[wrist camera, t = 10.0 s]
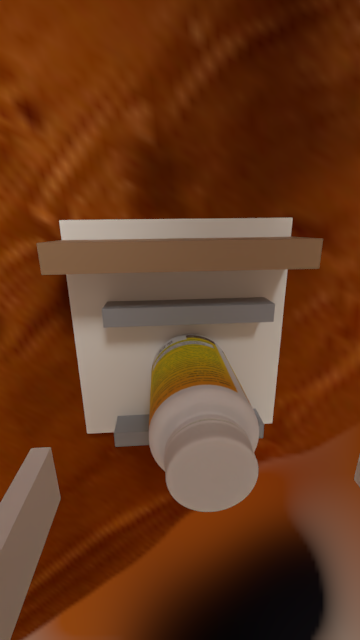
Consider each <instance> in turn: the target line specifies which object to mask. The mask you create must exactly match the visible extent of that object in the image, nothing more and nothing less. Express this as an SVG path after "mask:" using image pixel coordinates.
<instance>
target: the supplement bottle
mask: <svg viewBox="0 0 360 640" xmlns="http://www.w3.org/2000/svg"><path fill="white" fill-rule="evenodd" d="M258 439H259V425H258V420H257V417H256V415H255V412H254V410H253V408H252V406H251V404H250V402H249V400H248V398H247V396H246V394H245V392H244V390H243V388H242V386H241V384H240V383H239V381H238V379H237V377H236V375H235V373H234V371H233V369H232V367H231V365H230V364H229V362H228V360H227V358H226V356H225V354H224V352H223V351H222V349H221V348H220V347H219V346H218V345H217V344H216V343H215V342H214V341H212V340H211V339H209V338H207V337H205V336H202V335H197V334H184V335H180V336H177V337H174V338H172V339H170V340H169V341H167V342H166V343H165V344H164V345H163V346H162V347H161V348H160V349H159V350H158V352H157V353H156V355H155V358H154V360H153V364H152V371H151V391H150V415H149V446H150V450H151V453H152V455H153V457H154V459H155V461H156V462H157V464H158V465H159V466H160V467H161V468H162V469H163V470H164V471H165V476H166V484H167V487H168V490H169V492H170V494H171V495H172V497H173V498H174V499H175V500H176V501H177V502H178V503H179V504H181V505H183V506H184V507H186V508H189V509H192V510H195V511H200V512H215V511H221V510H224V509H227V508H230V507H232V506H234V505H236V504H237V503H239V502H241V501H242V500H243V499H245V498H246V497H247V496H248V495H249V494H250V492H251V491H252V489H253V488H254V486H255V484H256V482H257V478H258V463H257V459H256V457H255V454H254V451H255V449H256V447H257V443H258Z"/></svg>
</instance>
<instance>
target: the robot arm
mask: <svg viewBox="0 0 360 640" xmlns="http://www.w3.org/2000/svg"><path fill="white" fill-rule="evenodd" d="M354 480H355V481H356V483H357V484H358V485H359V487H360V455H359V459H358V464H357V468H356V472H355V476H354ZM60 499H61V497H60V491H59V486H58V481H57V476H56V471H55V466H54V461H53V455H52V450H51V447H43V448H31V449H30V451H29V453H28V455H27V457H26V458H25V460H24V462H23V464H22V465H21V467H20V469H19V471H18V472H17V474H16V476H15V478H14V479H13V481H12V483H11V485H10V487H9V488H8V490H7V492H6V494H5V495H4V497H3V499H2V501H1V502H0V640H10V639H11V636H12V634H13V631H14V628H15V625H16V622H17V620H18V617H19V614H20V611H21V608H22V606H23V603H24V600H25V597H26V594H27V592H28V589H29V586H30V583H31V580H32V578H33V575H34V572H35V569H36V566H37V564H38V561H39V558H40V555H41V552H42V550H43V547H44V544H45V541H46V538H47V536H48V533H49V530H50V527H51V525H52V522H53V519H54V516H55V513H56V511H57V508H58V505H59V502H60Z"/></svg>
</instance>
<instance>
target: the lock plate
mask: <svg viewBox="0 0 360 640" xmlns="http://www.w3.org/2000/svg"><path fill="white" fill-rule="evenodd" d="M292 220H293V218H213V219H123V220H59V223H60V231H61V239H62V240H59V241H51V242H42V243H37V250H38V256H39V262H40V269H41V275H58V274H66V277H67V284H68V292H69V299H70V307H71V315H72V322H73V330H74V337H75V345H76V353H77V360H78V368H79V375H80V383H81V391H82V398H83V406H84V413H85V421H86V429H87V434H92V433H110V432H114V440H115V447H122V446H139V445H149V415H150V391H151V371H152V364H153V360H154V358H155V355H156V353H157V352H158V350H159V349H160V348H161V347H162V346H163V345H164V344H165V343H166V342H167V341H169V340H170V339H172V338H174V337H177V336H180V335H184V334H197V335H202V336H205V337H207V338H209V339H211V340H212V341H214V342H215V343H216V344H217V345H218V346H219V347H220V348H221V349H222V351H223V352H224V354H225V356H226V358H227V360H228V362H229V364H230V365H231V367H232V369H233V371H234V373H235V375H236V377H237V379H238V381H239V383H240V384H241V386H242V388H243V390H244V392H245V394H246V396H247V398H248V400H249V402H250V404H251V406H252V408H253V410H254V412H255V415H256V417H257V420H258V425H259V438H263V433H264V424H268V423H272V421H273V411H274V401H275V391H276V381H277V371H278V361H279V351H280V341H281V331H282V321H283V311H284V301H285V291H286V281H287V271H288V269H319V266H320V259H321V251H322V244H323V239H321V238H305V237H291V230H292Z"/></svg>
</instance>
